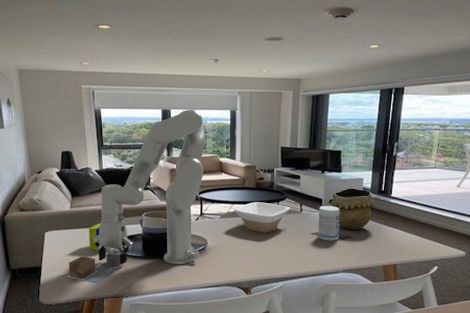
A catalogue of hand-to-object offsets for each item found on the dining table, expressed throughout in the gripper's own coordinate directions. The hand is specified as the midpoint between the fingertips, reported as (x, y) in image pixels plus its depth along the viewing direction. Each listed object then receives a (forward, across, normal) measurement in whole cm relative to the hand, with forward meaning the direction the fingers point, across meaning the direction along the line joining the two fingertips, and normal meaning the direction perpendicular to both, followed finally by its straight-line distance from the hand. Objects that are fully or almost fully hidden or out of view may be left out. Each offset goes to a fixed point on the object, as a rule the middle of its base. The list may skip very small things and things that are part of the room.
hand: (112, 261), depth 132 cm
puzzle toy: (+2, +16, -15) cm, 22 cm away
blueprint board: (+2, +2, +9) cm, 9 cm away
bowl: (+1, -41, -66) cm, 78 cm away
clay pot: (0, -85, -82) cm, 119 cm away
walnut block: (+2, +5, +11) cm, 12 cm away
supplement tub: (0, -75, -62) cm, 98 cm away
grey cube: (+2, 0, -2) cm, 3 cm away
